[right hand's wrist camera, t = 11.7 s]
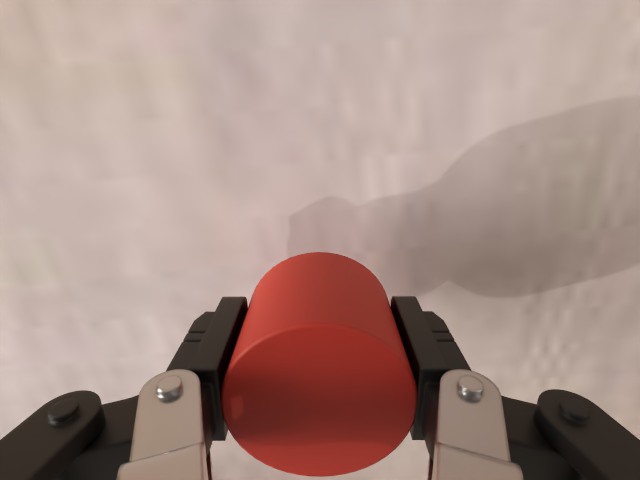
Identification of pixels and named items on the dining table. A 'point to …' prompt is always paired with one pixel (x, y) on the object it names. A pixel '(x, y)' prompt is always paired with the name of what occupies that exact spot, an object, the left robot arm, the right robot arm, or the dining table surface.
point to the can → (319, 370)
